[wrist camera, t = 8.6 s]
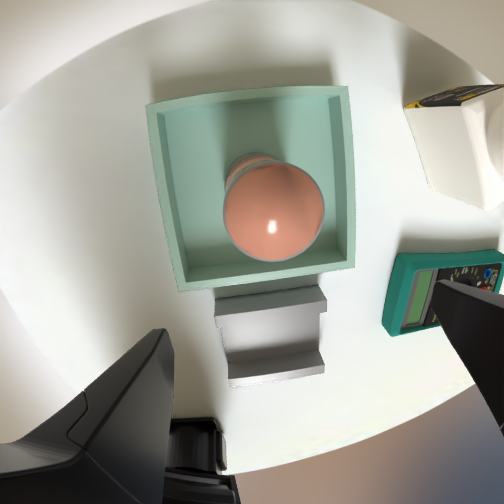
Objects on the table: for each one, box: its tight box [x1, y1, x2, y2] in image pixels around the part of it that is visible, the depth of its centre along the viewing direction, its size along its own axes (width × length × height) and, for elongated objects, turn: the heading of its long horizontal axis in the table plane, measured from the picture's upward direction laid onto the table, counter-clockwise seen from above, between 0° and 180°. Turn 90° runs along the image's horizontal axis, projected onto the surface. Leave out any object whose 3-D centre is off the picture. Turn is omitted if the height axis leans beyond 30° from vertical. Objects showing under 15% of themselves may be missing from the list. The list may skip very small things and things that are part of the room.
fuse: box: [223, 152, 325, 262], centre depth 16 cm, size 4×4×8 cm
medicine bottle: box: [404, 84, 504, 211], centre depth 14 cm, size 7×7×12 cm
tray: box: [146, 86, 356, 292], centre depth 19 cm, size 12×12×2 cm
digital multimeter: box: [382, 249, 504, 337], centre depth 24 cm, size 7×15×3 cm, turn 90°
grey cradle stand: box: [214, 285, 327, 387], centre depth 23 cm, size 8×7×2 cm
